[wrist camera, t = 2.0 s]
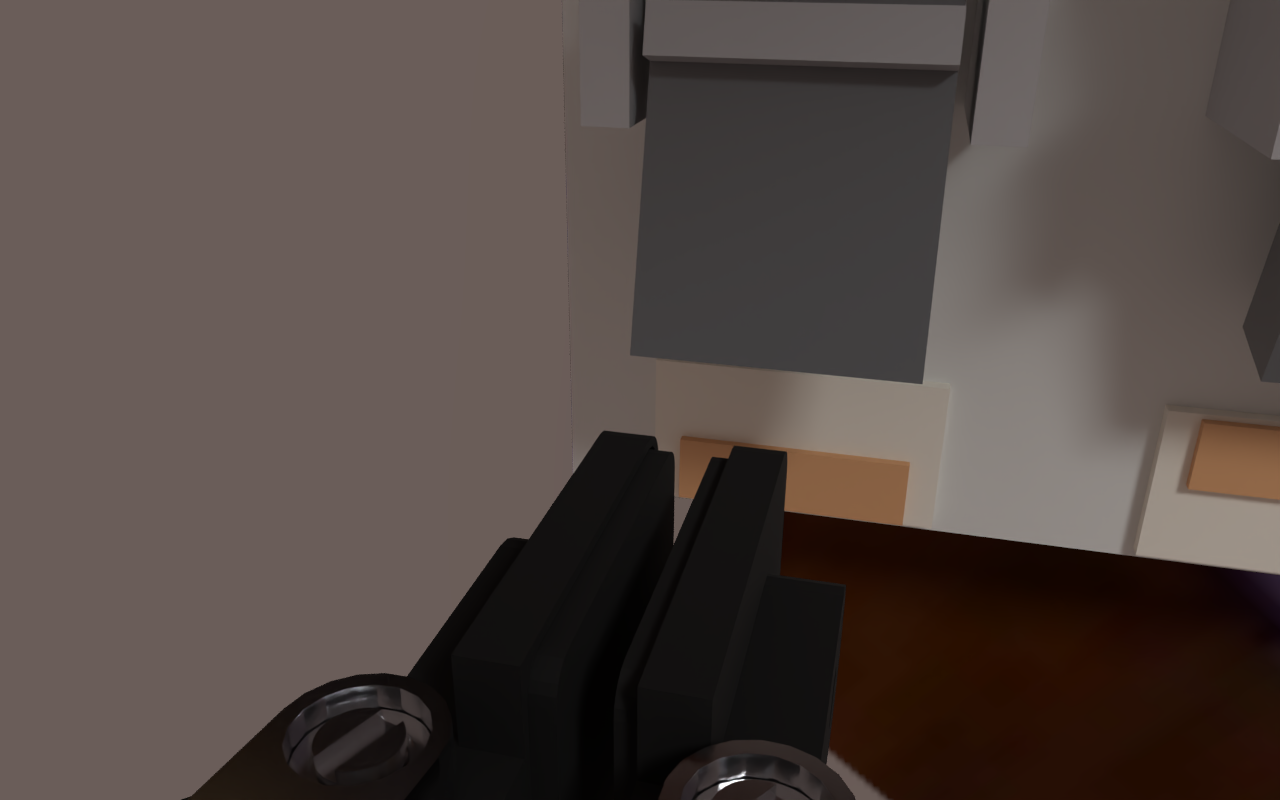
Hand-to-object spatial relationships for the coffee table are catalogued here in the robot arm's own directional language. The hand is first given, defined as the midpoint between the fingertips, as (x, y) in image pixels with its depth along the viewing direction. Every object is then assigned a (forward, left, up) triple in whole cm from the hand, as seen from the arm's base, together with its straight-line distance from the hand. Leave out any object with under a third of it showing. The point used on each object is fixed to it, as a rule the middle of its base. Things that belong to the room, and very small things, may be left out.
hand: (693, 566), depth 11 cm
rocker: (-5, 0, -8) cm, 9 cm away
